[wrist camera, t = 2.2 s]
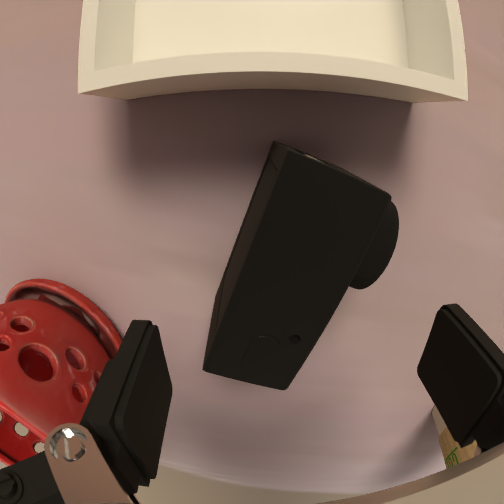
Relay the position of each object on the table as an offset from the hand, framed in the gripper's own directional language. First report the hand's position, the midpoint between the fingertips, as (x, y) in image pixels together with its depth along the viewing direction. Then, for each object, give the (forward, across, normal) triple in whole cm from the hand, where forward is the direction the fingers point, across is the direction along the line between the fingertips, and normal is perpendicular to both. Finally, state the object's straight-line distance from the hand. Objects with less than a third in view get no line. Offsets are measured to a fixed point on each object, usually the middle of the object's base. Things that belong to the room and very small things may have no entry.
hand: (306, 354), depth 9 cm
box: (+10, 0, -18) cm, 21 cm away
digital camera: (+10, 0, 0) cm, 10 cm away
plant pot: (+10, +16, +8) cm, 21 cm away
